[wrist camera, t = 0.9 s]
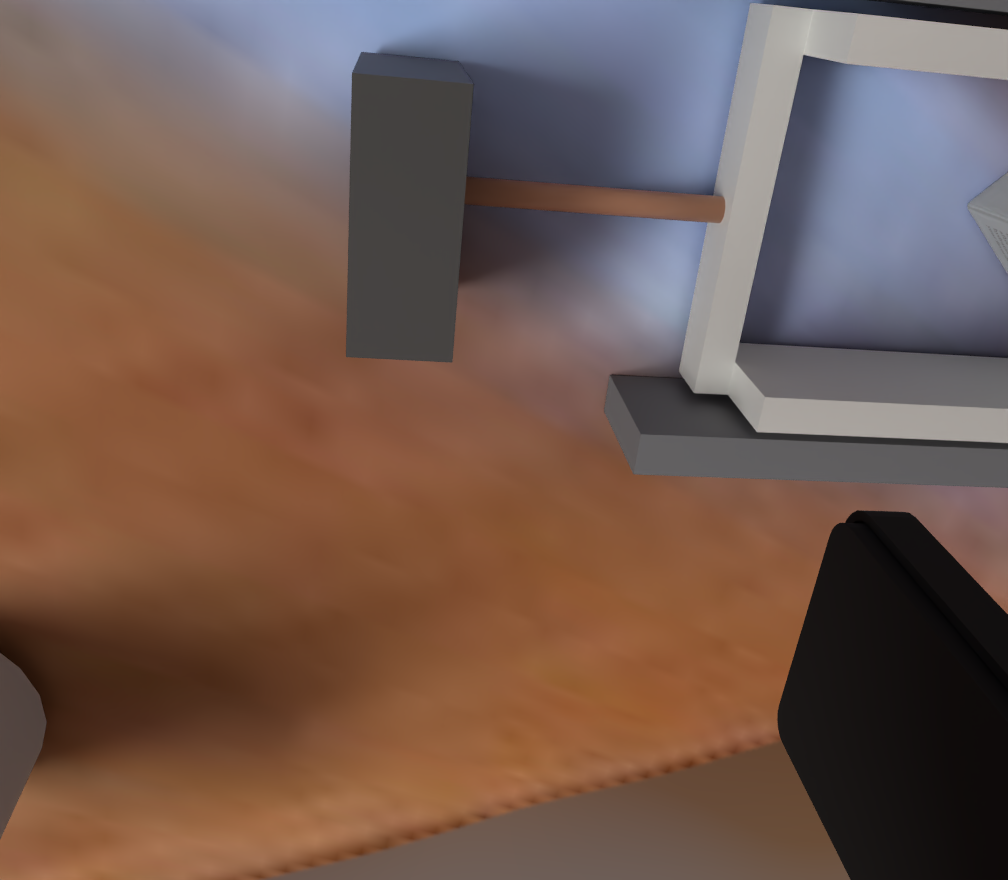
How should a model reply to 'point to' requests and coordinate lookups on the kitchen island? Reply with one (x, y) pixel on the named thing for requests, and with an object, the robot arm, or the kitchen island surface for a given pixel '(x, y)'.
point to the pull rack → (729, 212)
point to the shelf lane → (760, 455)
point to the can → (17, 735)
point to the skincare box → (993, 217)
